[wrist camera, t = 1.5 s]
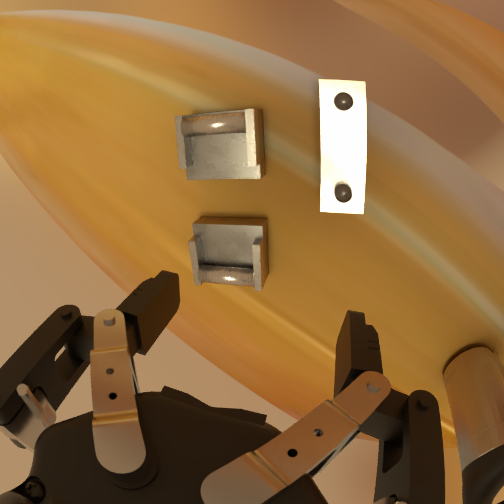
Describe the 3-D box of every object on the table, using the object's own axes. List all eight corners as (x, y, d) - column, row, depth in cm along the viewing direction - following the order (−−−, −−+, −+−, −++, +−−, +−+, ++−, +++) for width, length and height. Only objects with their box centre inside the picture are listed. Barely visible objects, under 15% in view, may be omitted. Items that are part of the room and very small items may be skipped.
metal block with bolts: (359, 87, 25) (366, 79, 20) (358, 199, 30) (364, 217, 25) (320, 86, 26) (318, 77, 21) (321, 197, 31) (319, 214, 26)
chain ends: (262, 109, 28) (252, 108, 24) (268, 273, 36) (260, 293, 32) (191, 115, 30) (172, 116, 26) (207, 268, 38) (193, 286, 34)
